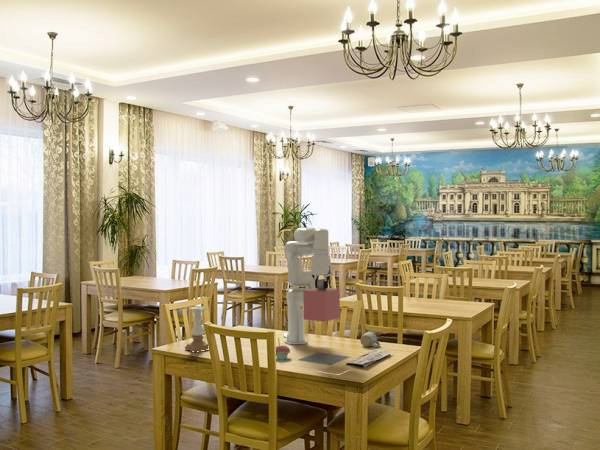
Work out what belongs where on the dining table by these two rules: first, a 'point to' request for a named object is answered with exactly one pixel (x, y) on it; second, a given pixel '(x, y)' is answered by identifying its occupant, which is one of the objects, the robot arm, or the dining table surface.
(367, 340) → the ceramic mug
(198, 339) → the candle holder
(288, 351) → the cupcake
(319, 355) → the mat
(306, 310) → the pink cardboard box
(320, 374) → the dining table surface
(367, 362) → the newspaper
